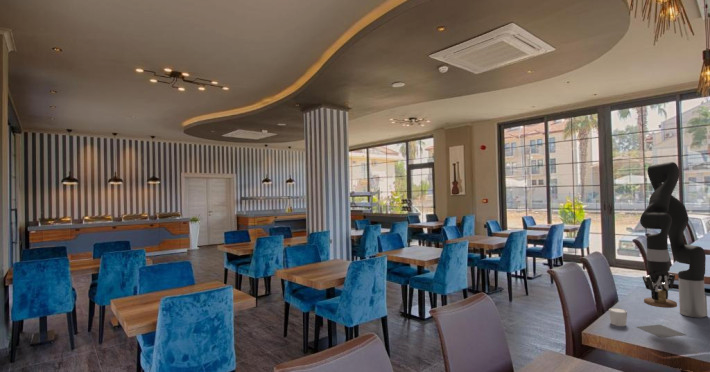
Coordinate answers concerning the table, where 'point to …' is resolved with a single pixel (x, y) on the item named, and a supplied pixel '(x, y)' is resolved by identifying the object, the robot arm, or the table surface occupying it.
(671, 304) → the walnut lid
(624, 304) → the table surface
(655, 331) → the rubber mat
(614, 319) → the white short cylinder
